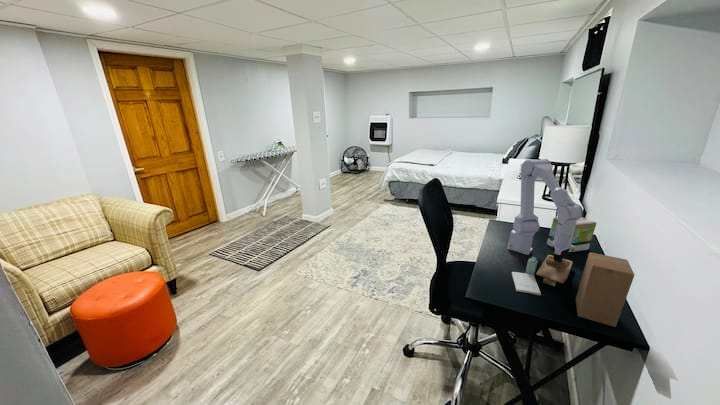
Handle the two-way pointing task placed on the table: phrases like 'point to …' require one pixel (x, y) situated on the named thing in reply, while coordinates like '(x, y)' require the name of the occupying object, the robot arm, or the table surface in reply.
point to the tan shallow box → (569, 263)
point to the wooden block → (603, 288)
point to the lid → (553, 270)
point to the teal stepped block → (531, 266)
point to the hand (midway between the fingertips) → (556, 263)
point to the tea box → (576, 234)
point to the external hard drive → (525, 283)
